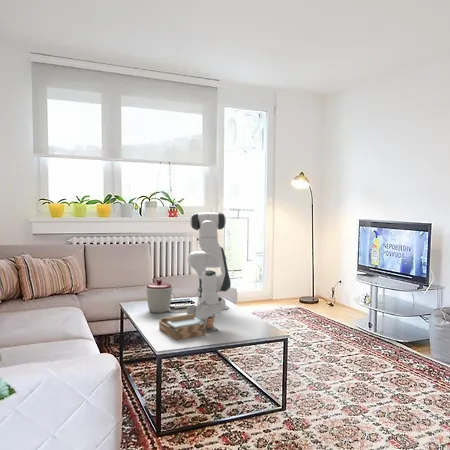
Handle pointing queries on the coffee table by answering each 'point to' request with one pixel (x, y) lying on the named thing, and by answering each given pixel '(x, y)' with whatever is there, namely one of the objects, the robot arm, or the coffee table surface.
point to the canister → (159, 296)
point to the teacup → (192, 310)
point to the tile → (211, 329)
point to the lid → (184, 320)
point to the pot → (209, 322)
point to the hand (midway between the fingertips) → (208, 323)
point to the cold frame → (181, 330)
